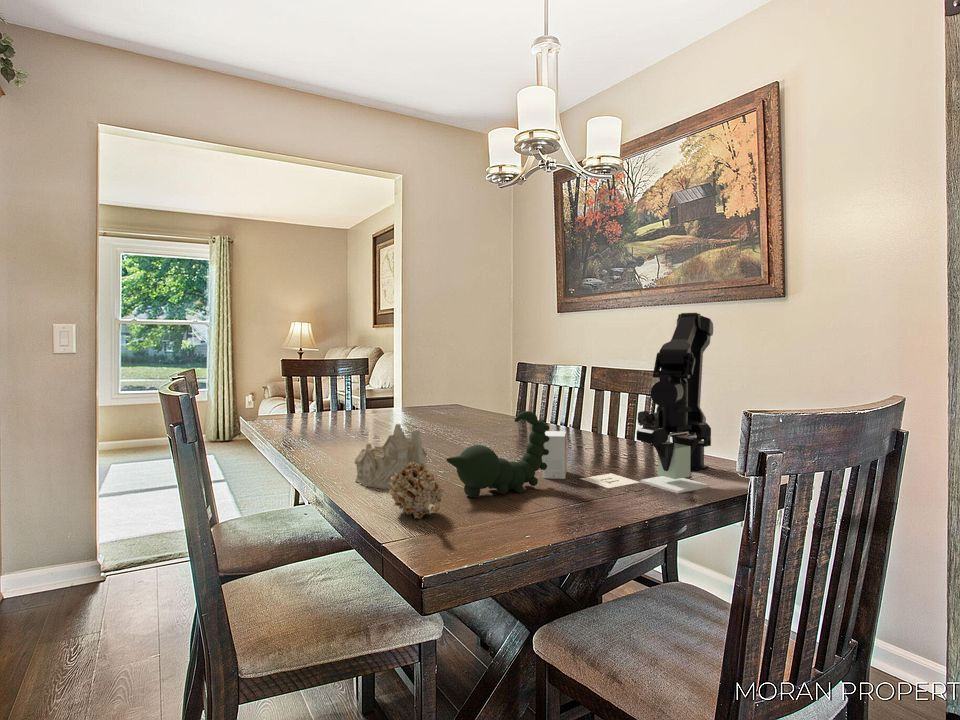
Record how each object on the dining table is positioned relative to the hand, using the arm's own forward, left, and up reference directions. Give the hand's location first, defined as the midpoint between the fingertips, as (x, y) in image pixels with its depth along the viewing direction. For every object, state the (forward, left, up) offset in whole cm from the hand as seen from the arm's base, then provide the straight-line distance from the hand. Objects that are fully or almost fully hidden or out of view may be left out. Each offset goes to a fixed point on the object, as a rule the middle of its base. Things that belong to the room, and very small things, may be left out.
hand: (674, 469), depth 131 cm
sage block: (0, 0, -1) cm, 1 cm away
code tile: (+10, -10, -4) cm, 15 cm away
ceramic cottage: (+54, -38, -4) cm, 66 cm away
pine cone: (+60, -7, -4) cm, 61 cm away
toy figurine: (+38, -15, -4) cm, 41 cm away
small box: (+18, -21, -4) cm, 28 cm away
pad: (0, 0, -4) cm, 4 cm away
